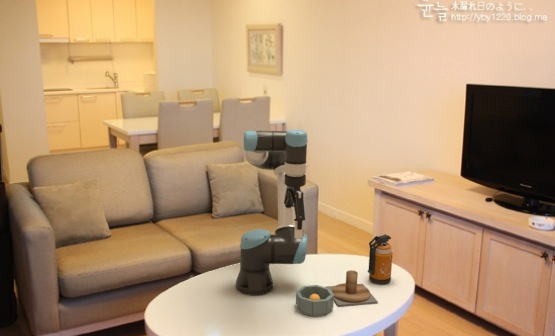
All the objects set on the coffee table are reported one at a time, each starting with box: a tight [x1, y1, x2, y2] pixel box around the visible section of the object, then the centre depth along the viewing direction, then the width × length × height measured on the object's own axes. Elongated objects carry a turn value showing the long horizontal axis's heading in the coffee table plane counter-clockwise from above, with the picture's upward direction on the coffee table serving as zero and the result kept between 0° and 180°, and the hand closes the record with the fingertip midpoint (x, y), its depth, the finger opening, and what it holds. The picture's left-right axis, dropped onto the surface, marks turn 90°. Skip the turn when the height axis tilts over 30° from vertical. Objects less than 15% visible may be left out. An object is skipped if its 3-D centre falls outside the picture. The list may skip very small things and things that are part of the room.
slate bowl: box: [295, 284, 335, 317], centre depth 211 cm, size 13×13×6 cm
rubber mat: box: [325, 283, 379, 308], centre depth 221 cm, size 16×16×1 cm
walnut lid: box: [332, 270, 371, 303], centre depth 220 cm, size 15×15×9 cm
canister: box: [367, 234, 394, 285], centre depth 233 cm, size 9×11×20 cm
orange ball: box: [309, 294, 321, 300], centre depth 210 cm, size 4×4×4 cm
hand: (293, 231), depth 203 cm, fingers open, 13 cm apart
